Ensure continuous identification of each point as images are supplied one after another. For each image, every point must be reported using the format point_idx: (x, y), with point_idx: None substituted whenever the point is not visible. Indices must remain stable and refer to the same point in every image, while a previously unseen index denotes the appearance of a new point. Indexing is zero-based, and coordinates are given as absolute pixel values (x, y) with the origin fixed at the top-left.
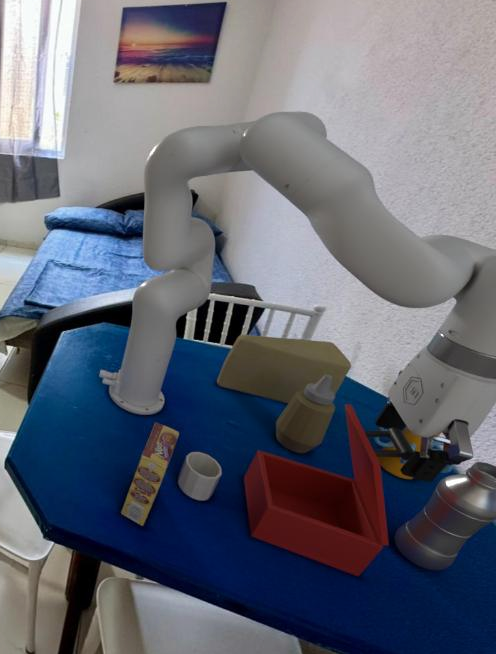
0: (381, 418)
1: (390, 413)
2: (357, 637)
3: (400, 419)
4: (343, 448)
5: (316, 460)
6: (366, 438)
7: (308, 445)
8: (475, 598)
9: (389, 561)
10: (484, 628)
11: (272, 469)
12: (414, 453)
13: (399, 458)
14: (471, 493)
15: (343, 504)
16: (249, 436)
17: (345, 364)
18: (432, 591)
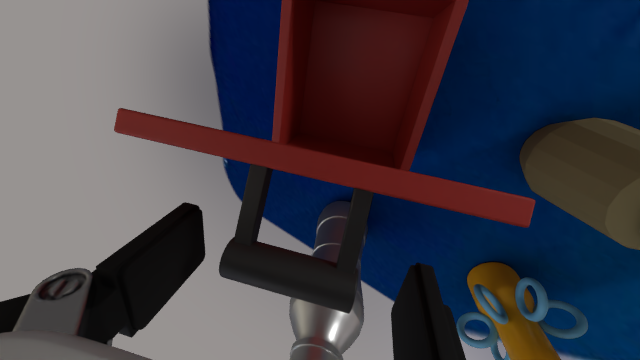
0: (419, 294)
1: (420, 343)
2: (219, 98)
3: (401, 350)
4: (533, 232)
5: (501, 175)
6: (256, 159)
7: (525, 163)
8: (308, 239)
9: (327, 183)
10: (279, 226)
11: (434, 43)
12: (110, 261)
13: (491, 288)
14: (302, 316)
15: (379, 158)
16: (579, 61)
17: None
18: (303, 206)
